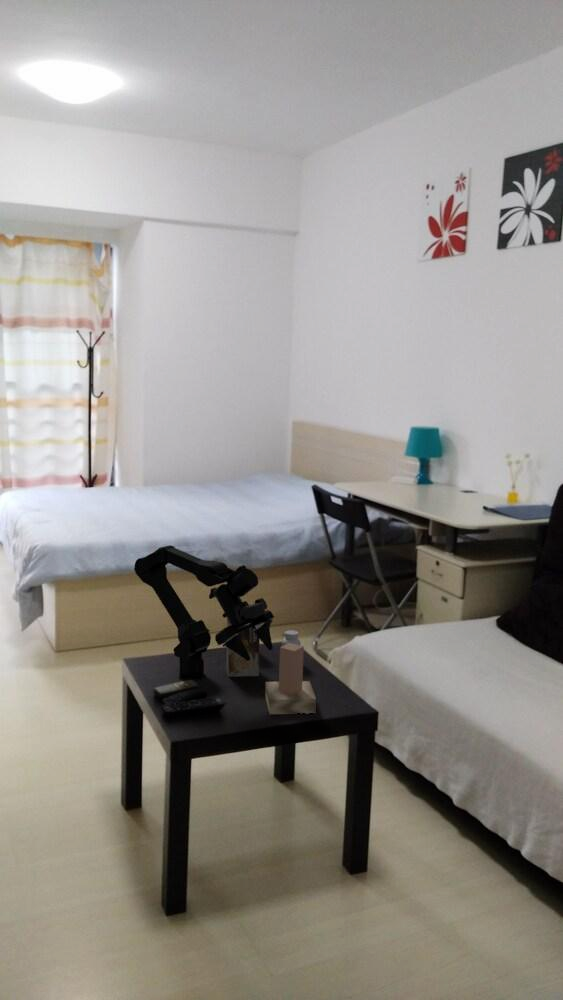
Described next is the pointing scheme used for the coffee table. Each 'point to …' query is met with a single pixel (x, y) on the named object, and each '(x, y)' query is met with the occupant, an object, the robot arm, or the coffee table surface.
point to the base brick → (290, 699)
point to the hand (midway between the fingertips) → (260, 654)
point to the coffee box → (237, 663)
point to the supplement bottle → (291, 638)
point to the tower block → (291, 668)
